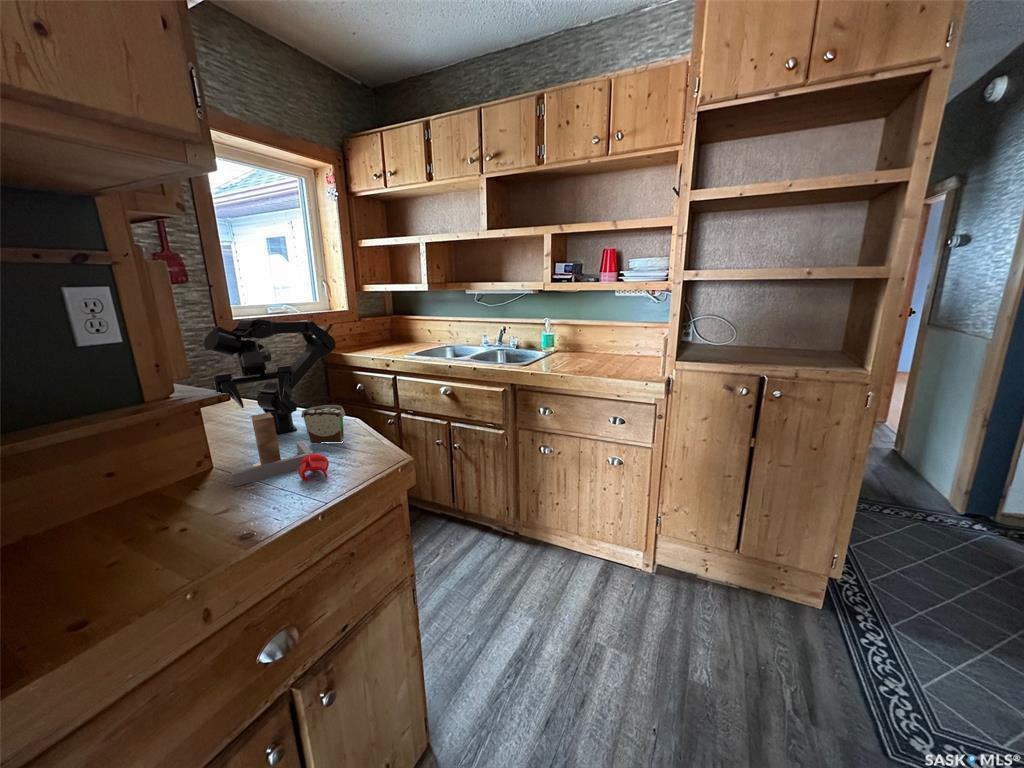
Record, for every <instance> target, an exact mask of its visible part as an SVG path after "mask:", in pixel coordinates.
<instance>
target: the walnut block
mask: <svg viewBox="0 0 1024 768" xmlns="http://www.w3.org/2000/svg"><path fill="white" fill-rule="evenodd" d="M251 421H252V427H253V431H254V437H255V442H256V447H257V452H258V457H259V463H261V465H263V464H267V463H270V462H274V461H278V460H281V457H282V456H281V452H280V447H279V440H278V434H277V435H276V430H275V424H274V419H273V416H272V415H271V413H270V412H269V413H265V412H264V413H260V414H259V413H258V414H254V415H251Z"/></svg>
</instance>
